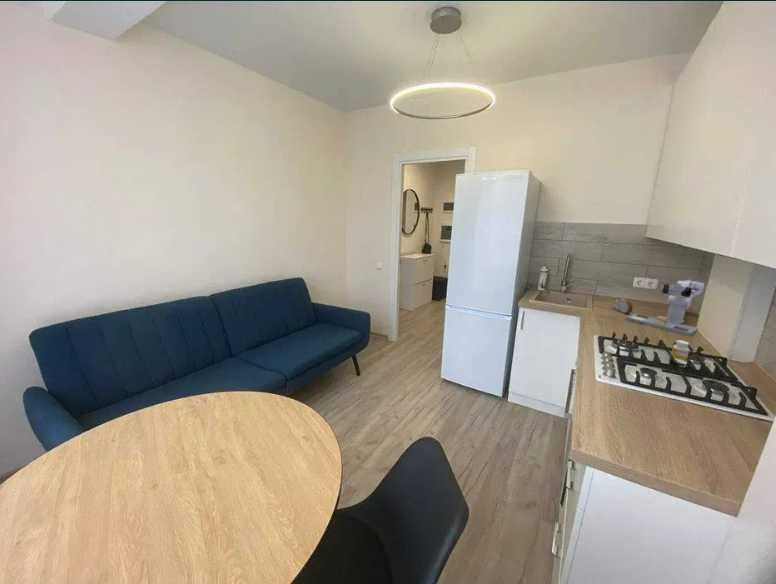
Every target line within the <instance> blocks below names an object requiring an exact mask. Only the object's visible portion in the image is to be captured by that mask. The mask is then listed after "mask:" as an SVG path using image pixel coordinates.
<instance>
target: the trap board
mask: <svg viewBox="0 0 776 584" xmlns="http://www.w3.org/2000/svg"><path fill="white" fill-rule="evenodd" d="M656 319H657V317H652V316H648V315H643V314H639V313H633V314H630V315H628V316H626V318H625V321H627V320H629V321H628V322H631V321H633V322H632V323H635V322H638V323H637V324H639V323H642V324H641V325H643V324H646V325H645V326H647V325H649V326H648V327H651V326H653V327H652V328H655V327H657V328H656V329H659V328H660V330H663V331H668V332H670V333H672V332H673V333H676V334H680V335H684V336H688V337H691V336H693V335H694V334H696V332H698V329H699V328H698V327H696V326H691V325H686V324H683V323H681V324H679V323H674V322H670V321H667V323H666V325H660V324H656Z"/></svg>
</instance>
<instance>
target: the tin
mask: <svg viewBox="0 0 776 584" xmlns="http://www.w3.org/2000/svg"><path fill="white" fill-rule="evenodd" d="M613 308H614V309H615V310H616V311H618V310H619V311H618V312H620V311H621V312H620V313H622V312H623V314H628V313H629V314H631V313H632V312H633V304H632V302H631V301H630V300H627V299H625V298H622V297H617V298H615V299H614V300H613Z"/></svg>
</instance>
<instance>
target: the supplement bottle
mask: <svg viewBox="0 0 776 584" xmlns="http://www.w3.org/2000/svg"><path fill="white" fill-rule="evenodd" d="M675 342H676V343H675V344H674V345H672V347H671V352H670V355H672V356H673V357H675V358H677V359H682V360H685V359H687V360H688V356H689V352H690V347H689V345H690V342H687V341H685V340H681V339H680V340H679V339H677V340H676V341H675Z"/></svg>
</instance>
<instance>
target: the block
mask: <svg viewBox="0 0 776 584" xmlns="http://www.w3.org/2000/svg"><path fill="white" fill-rule="evenodd" d="M656 318H657V319H656V324H660V325H666V323H667V320H668V318H667V316H661V315H658V316H656Z"/></svg>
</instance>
